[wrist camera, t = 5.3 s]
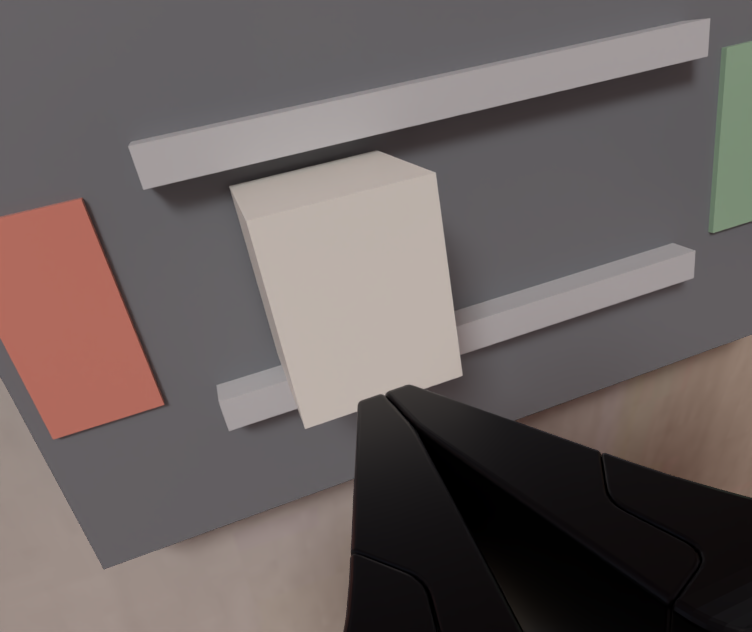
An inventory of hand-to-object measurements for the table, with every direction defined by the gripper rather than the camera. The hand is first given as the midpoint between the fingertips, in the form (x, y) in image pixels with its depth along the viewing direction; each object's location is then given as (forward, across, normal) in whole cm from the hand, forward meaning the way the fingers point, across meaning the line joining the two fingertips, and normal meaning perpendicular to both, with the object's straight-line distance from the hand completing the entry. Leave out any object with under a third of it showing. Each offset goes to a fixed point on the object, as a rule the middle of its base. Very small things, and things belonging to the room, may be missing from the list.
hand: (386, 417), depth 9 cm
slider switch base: (+11, 0, 0) cm, 11 cm away
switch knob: (+8, -1, 0) cm, 8 cm away
